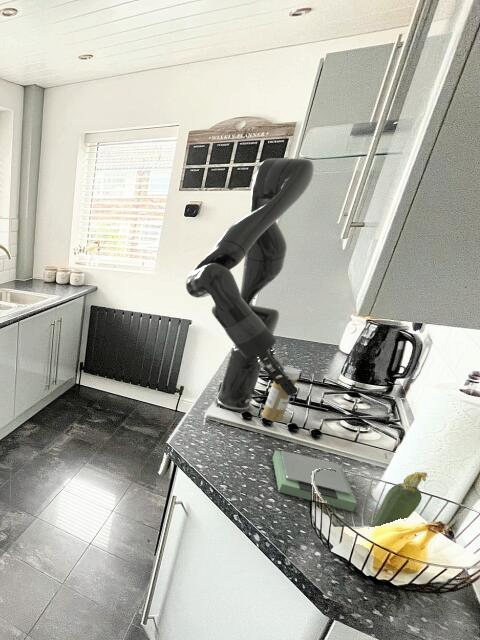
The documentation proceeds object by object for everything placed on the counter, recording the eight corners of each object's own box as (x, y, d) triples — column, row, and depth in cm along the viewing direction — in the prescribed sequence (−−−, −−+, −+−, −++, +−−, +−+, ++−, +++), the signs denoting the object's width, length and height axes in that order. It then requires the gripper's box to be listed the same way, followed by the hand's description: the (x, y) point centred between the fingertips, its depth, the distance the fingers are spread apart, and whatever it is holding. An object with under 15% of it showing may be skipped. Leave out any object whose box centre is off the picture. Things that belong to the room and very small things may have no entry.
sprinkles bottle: (283, 423, 104) (302, 374, 98) (261, 419, 106) (278, 370, 100) (281, 416, 108) (299, 367, 102) (260, 411, 110) (277, 364, 104)
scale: (272, 457, 113) (275, 449, 112) (337, 473, 107) (341, 465, 106) (278, 492, 101) (282, 483, 100) (353, 512, 95) (357, 503, 93)
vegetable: (356, 539, 87) (398, 459, 79) (382, 545, 86) (428, 464, 77) (365, 554, 84) (411, 473, 75) (392, 561, 82) (442, 478, 74)
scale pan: (279, 452, 111) (280, 450, 111) (336, 466, 106) (338, 463, 106) (285, 479, 101) (286, 477, 101) (349, 495, 96) (350, 493, 96)
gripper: (267, 333, 94) (314, 393, 94) (263, 317, 106) (305, 371, 106) (233, 351, 99) (278, 408, 99) (233, 334, 110) (273, 385, 110)
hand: (291, 388), depth 102 cm, fingers closed on sprinkles bottle, 4 cm apart
